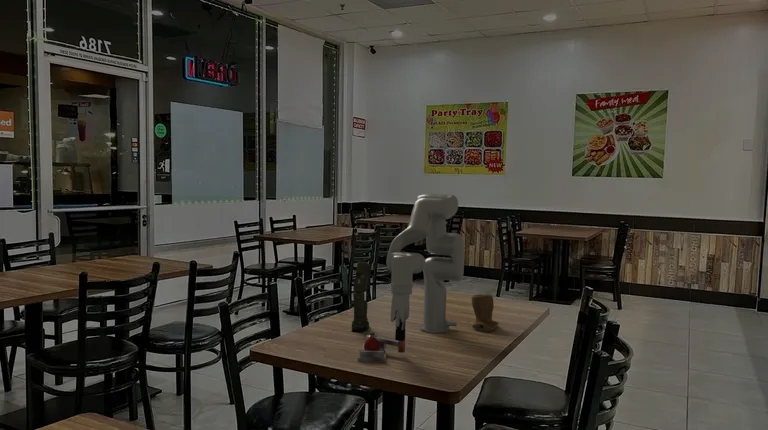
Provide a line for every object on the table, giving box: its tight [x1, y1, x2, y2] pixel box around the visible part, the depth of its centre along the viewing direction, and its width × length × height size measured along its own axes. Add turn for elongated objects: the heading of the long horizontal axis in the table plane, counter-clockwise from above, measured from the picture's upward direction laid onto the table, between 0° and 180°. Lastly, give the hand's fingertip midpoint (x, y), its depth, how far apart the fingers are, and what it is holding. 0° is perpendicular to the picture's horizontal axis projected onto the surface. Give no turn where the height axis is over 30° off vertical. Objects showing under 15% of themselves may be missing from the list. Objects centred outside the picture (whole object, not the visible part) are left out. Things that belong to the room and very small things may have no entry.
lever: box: [365, 328, 406, 354], centre depth 212 cm, size 16×4×8 cm, turn 57°
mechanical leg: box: [351, 261, 372, 334], centre depth 246 cm, size 14×7×30 cm, turn 169°
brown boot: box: [471, 293, 499, 332], centre depth 251 cm, size 15×12×15 cm
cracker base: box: [357, 331, 387, 363], centre depth 211 cm, size 10×17×7 cm, turn 1°
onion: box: [363, 335, 380, 351], centre depth 208 cm, size 6×6×8 cm
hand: (400, 340), depth 205 cm, fingers closed
